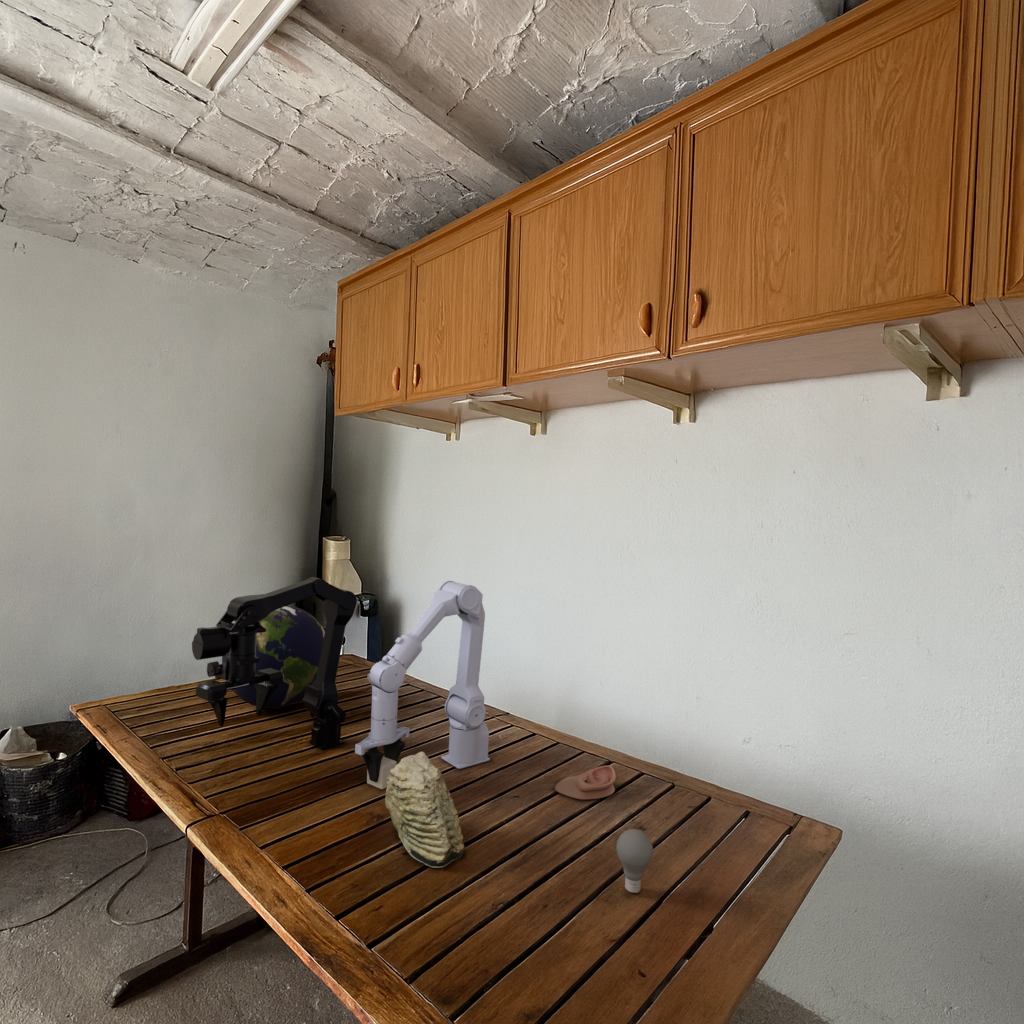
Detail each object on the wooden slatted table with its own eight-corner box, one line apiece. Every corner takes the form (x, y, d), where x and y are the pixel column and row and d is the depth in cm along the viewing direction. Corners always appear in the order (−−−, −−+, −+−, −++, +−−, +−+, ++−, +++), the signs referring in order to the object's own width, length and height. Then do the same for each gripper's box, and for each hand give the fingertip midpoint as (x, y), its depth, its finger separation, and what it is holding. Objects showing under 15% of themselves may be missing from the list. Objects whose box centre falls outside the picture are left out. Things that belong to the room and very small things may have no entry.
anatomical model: (553, 777, 138) (560, 757, 150) (552, 795, 138) (559, 774, 150) (614, 786, 136) (616, 764, 147) (613, 804, 136) (616, 781, 147)
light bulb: (610, 879, 108) (613, 822, 108) (644, 879, 109) (647, 822, 109) (619, 902, 102) (622, 840, 102) (655, 901, 103) (658, 840, 103)
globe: (289, 685, 209) (292, 594, 208) (348, 705, 191) (352, 606, 191) (199, 706, 185) (203, 604, 184) (258, 732, 167) (262, 619, 167)
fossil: (411, 815, 127) (414, 741, 127) (473, 855, 114) (476, 772, 114) (373, 831, 121) (376, 753, 120) (434, 874, 108) (437, 787, 107)
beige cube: (380, 776, 144) (381, 755, 144) (395, 783, 142) (396, 761, 142) (366, 783, 141) (367, 761, 141) (382, 789, 138) (382, 767, 138)
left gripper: (258, 640, 157) (256, 703, 158) (183, 653, 142) (181, 722, 142) (286, 648, 151) (283, 713, 151) (210, 662, 136) (208, 735, 136)
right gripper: (395, 704, 149) (392, 761, 150) (346, 720, 137) (344, 782, 138) (416, 711, 145) (414, 770, 145) (369, 728, 133) (366, 792, 134)
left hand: (240, 720), depth 145 cm, fingers open, 9 cm apart
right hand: (381, 776), depth 141 cm, fingers closed on beige cube, 4 cm apart
